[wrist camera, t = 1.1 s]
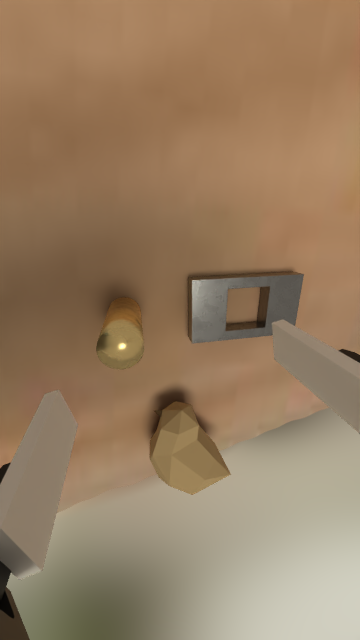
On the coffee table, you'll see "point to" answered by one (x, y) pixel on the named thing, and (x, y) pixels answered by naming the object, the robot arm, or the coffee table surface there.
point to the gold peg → (121, 335)
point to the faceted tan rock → (185, 451)
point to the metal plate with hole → (211, 304)
